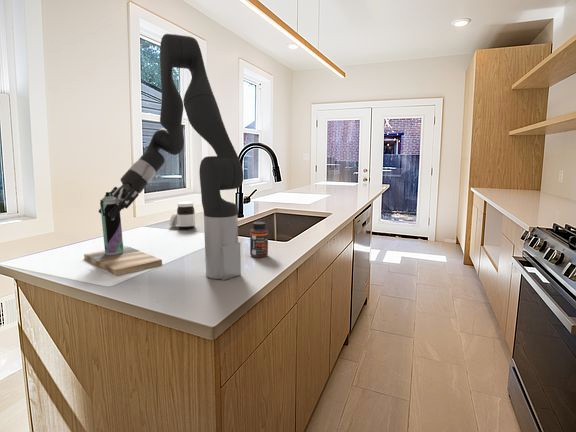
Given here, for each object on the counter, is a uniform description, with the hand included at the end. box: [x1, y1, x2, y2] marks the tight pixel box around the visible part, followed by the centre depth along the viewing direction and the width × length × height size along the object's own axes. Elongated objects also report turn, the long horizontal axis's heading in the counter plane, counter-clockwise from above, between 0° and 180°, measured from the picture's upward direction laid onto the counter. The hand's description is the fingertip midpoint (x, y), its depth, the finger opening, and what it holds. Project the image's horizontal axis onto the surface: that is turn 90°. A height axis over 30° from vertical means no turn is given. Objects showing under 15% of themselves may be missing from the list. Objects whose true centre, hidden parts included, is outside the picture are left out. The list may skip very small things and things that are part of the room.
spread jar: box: [168, 201, 196, 231], centre depth 167 cm, size 12×11×12 cm
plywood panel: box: [83, 245, 163, 276], centre depth 117 cm, size 24×14×2 cm, turn 48°
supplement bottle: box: [249, 221, 269, 259], centre depth 123 cm, size 6×6×11 cm
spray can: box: [99, 191, 124, 255], centre depth 119 cm, size 6×6×20 cm
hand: (105, 215), depth 118 cm, fingers open, 7 cm apart
